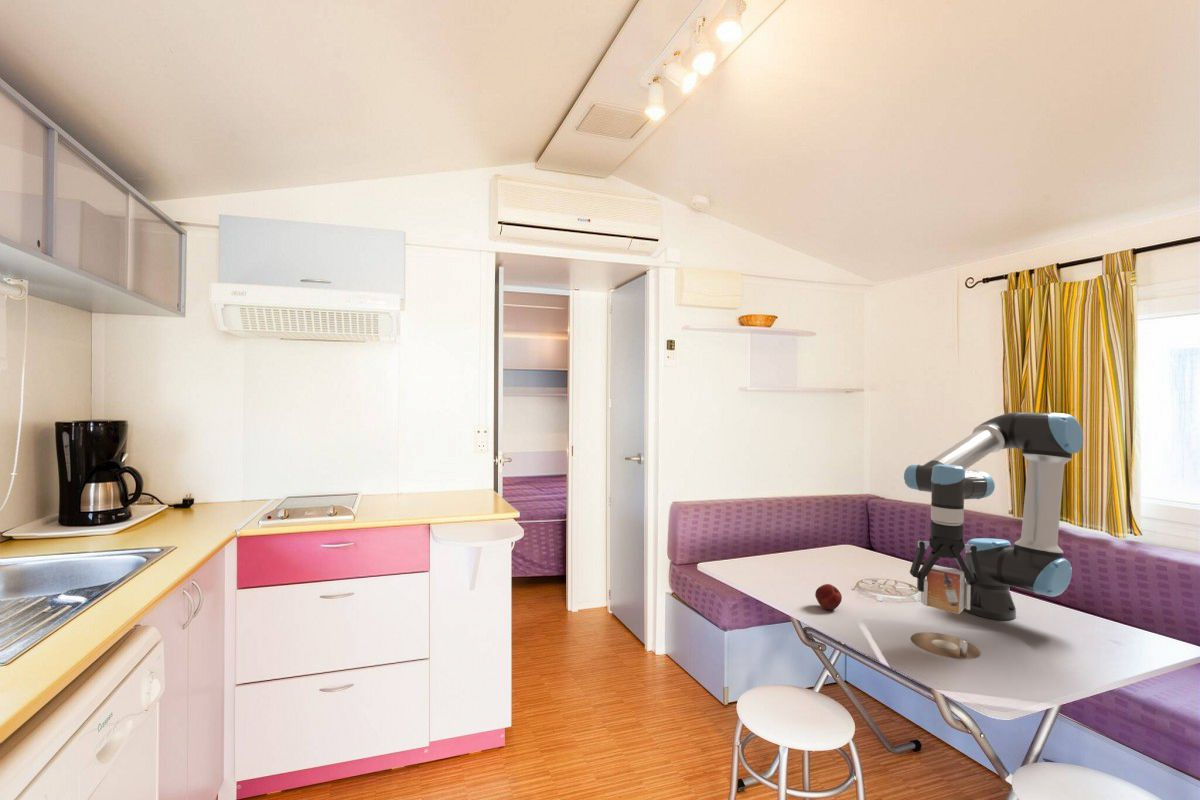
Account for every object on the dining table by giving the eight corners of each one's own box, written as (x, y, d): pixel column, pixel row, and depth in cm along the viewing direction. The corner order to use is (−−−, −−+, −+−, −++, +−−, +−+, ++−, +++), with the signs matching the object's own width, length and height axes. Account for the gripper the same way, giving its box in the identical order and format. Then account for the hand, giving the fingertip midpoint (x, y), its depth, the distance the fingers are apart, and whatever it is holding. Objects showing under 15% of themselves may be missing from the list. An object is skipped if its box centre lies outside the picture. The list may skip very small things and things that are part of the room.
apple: (833, 615, 171) (833, 589, 171) (810, 607, 177) (810, 583, 177) (845, 610, 175) (845, 585, 176) (822, 602, 181) (822, 578, 182)
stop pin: (965, 655, 142) (965, 639, 142) (968, 658, 140) (968, 642, 140) (958, 654, 142) (958, 639, 142) (961, 657, 140) (961, 641, 140)
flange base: (966, 641, 153) (966, 635, 153) (992, 668, 138) (992, 662, 138) (903, 634, 157) (903, 629, 157) (921, 660, 142) (921, 653, 142)
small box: (925, 606, 148) (925, 567, 148) (931, 601, 152) (931, 563, 152) (959, 614, 143) (960, 574, 143) (964, 609, 147) (965, 570, 147)
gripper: (987, 522, 149) (985, 605, 148) (897, 516, 154) (895, 596, 154) (1000, 528, 141) (998, 615, 141) (905, 522, 147) (903, 605, 147)
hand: (944, 605), depth 147 cm, fingers closed on small box, 9 cm apart
